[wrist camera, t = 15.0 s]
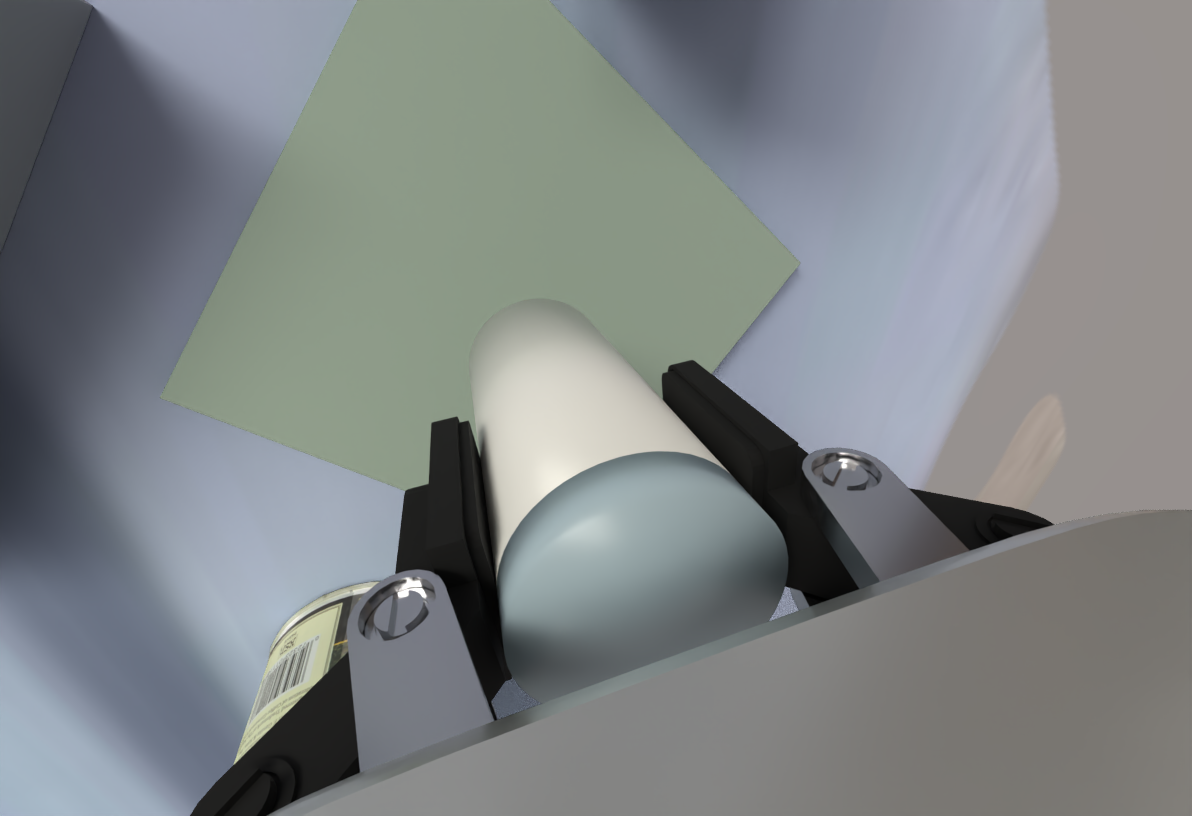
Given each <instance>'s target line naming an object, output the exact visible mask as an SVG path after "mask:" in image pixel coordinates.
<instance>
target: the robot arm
mask: <svg viewBox="0 0 1192 816" xmlns="http://www.w3.org/2000/svg"><path fill="white" fill-rule="evenodd" d="M662 395H663V401H664V402H665V403H666V404H667V405H668V406H669V408H670V409H671V410H672V411H673V412H674V413H675V414H676V415H677V416H678V417H679V418H680V420H681V421H682V422H683V423H684V424H685V425H686V426H687V427H688V428H689V429H690V430H691V432H692V433H693V434H694V435H695V436H696V437H697V438H698V439H699V440H700V441H701V442H702V444H703V445H704V446H705V447H706V448H707V449H708V450H709V451H710V452H711V453H712V454H713V455H714V457H715V458H716V459H717V460H718V461H719V462H720V463H721V464H722V465H723V466H724V467H725V469H726V470H727V471H728V472H729V473H730V474H731V475H732V476H733V477H734V478H735V479H736V481H737V482H738V483H739V484H740V485H741V486H742V487H743V488H744V489H745V490H746V491H747V493H748V494H749V495H750V496H751V497H752V498H753V499H754V500H755V501H756V502H757V503H758V505H759V506H760V507H761V508H762V509H763V510H764V511H765V512H766V513H767V514H768V515H769V516H770V518H771V519H772V520H773V521H774V522H775V523H776V525H777V526H778V528H779V530H780V531H781V533H782V535H783V538H784V540H785V543H786V547H787V553H788V574H787V579H786V585H785V586H786V587H789V588H790V591H791V595H792V598H793V600H794V602H795V604H796V606H797V608H798V610H799V611H797V612H794V613H791V614H788V615H786V616H783V617H780V618H777V619H774V620H772V621H769V622H766V623H763V624H760V625H758V626H755V627H752V628H749V629H746V630H744V631H741V632H738V633H735V634H732V635H730V636H727V637H724V638H721V639H719V640H716V641H713V642H710V643H707V644H705V645H702V646H699V647H696V648H694V649H691V650H688V651H685V652H682V653H680V654H677V655H674V656H671V657H669V658H666V659H663V660H660V661H657V662H655V663H652V664H649V665H646V666H644V667H641V668H638V669H635V670H633V671H630V672H627V673H624V674H622V675H619V676H616V677H614V678H611V679H608V680H605V681H603V682H600V683H597V684H594V685H592V686H589V687H586V688H583V689H581V690H578V691H575V692H572V693H570V694H567V695H564V696H561V697H559V698H556V699H553V700H551V701H548V702H545V703H542V704H540V705H537V706H534V707H531V708H529V709H526V710H523V711H520V712H518V713H515V714H512V715H509V716H507V717H504V718H501V719H499V720H498V717H497V714H496V711H495V709H494V706H493V703H492V699H493V698H494V697H495V695H496V694H497V692H498V691H499V689H500V688H501V686H502V685H503V684H504V682H505V681H507V680H510V679H512V675H511V673H510V671H509V668H508V666H507V663H506V658H505V654H504V647H503V639H502V631H501V623H500V615H499V607H498V599H497V587H496V579H495V571H494V563H493V555H492V547H491V539H490V531H489V523H488V515H487V508H486V500H485V492H484V484H483V476H482V468H481V460H480V456H479V452H478V449H477V446H476V442H475V439H474V435H473V432H472V429H471V425H470V423H469V420H468V421H464V422H460V421H459V419H458V417H452V418H448V419H444V420H440V421H436V422H432V423H431V440H430V462H429V484H426V485H422V486H418V487H414V488H410V489H407V490H406V491H405V495H404V503H403V512H402V520H401V529H400V538H399V546H398V555H397V564H396V572H395V575H392V576H390V577H388V578H386V579H384V580H382V581H381V582H379V583H377V584H376V585H375V586H373V587H372V588H371V589H370V590H369V591H367V592H366V593H365V594H364V595H363V596H362V597H361V599H360V600H359V601H358V602H357V603H356V605H355V606H354V608H353V610H352V612H351V614H350V616H349V618H348V623H347V641H348V652H347V653H346V654H345V655H344V656H343V657H342V658H341V659H340V660H339V661H338V662H337V663H336V664H335V665H334V666H333V667H332V668H331V669H330V670H329V671H328V672H327V673H326V674H325V675H324V676H323V677H322V678H321V679H320V680H319V681H318V682H317V683H316V684H315V685H314V686H313V687H312V688H311V689H310V690H309V691H308V692H307V693H306V694H305V695H304V696H303V697H302V698H301V699H300V700H299V701H298V702H297V703H296V704H295V705H294V706H293V707H292V708H291V709H290V710H289V711H288V712H287V713H286V714H285V715H284V716H283V717H282V718H281V719H280V720H279V721H278V722H277V723H276V724H275V725H274V726H273V727H272V728H271V729H270V730H269V731H268V732H267V733H266V734H265V735H263V736H262V737H261V738H260V739H259V740H258V741H257V742H256V743H255V744H254V745H253V746H252V747H251V748H250V749H249V750H248V751H247V752H246V753H245V754H244V755H243V756H242V757H241V758H240V759H239V760H238V761H237V762H236V763H235V764H234V765H233V766H232V767H231V768H230V769H229V770H228V771H227V772H226V773H225V774H224V775H223V776H222V777H221V778H220V779H219V780H218V781H217V782H216V783H215V784H214V785H213V787H212V788H211V789H210V790H209V791H208V792H207V793H206V795H205V796H204V797H203V798H202V799H201V800H200V801H199V803H198V804H197V806H196V807H195V809H194V810H193V812H192V814H191V815H190V816H1192V510H1140V511H1131V512H1121V513H1111V514H1104V515H1098V516H1093V517H1088V518H1082V519H1078V520H1072V521H1067V522H1063V523H1059V524H1056V525H1054V524H1052V523H1051V522H1049V521H1047V520H1046V519H1044V518H1041V517H1039V516H1037V515H1034V514H1032V513H1029V512H1026V511H1023V510H1019V509H1015V508H1011V507H1006V506H1000V505H995V504H990V503H984V502H979V501H974V500H968V499H963V498H958V497H953V496H947V495H942V494H936V493H931V492H926V491H921V490H915V489H910V488H908V487H907V486H906V485H905V484H904V483H903V482H902V481H901V480H900V479H899V478H898V477H897V476H896V475H895V474H894V473H893V472H892V471H891V470H890V469H889V468H888V467H887V466H886V465H885V464H884V463H882V462H881V461H880V460H878V459H877V458H875V457H873V456H871V455H869V454H867V453H864V452H860V451H857V450H853V449H846V448H825V449H821V450H817V451H815V452H813V453H811V454H808V453H807V452H805V451H804V450H803V449H802V448H800V447H799V446H798V442H796V441H795V440H794V439H792V438H791V437H790V436H789V435H787V434H786V433H785V432H784V431H782V430H781V429H780V428H779V427H777V426H776V425H775V424H774V423H772V422H771V421H770V420H769V419H767V418H766V417H765V416H764V415H762V414H761V413H760V412H759V411H757V410H756V409H755V408H753V407H752V406H751V405H750V404H748V403H747V402H746V401H745V400H743V399H742V398H741V397H740V396H738V395H737V394H736V393H735V392H733V391H732V390H731V389H730V388H728V387H727V386H726V385H725V384H723V383H722V382H721V381H720V380H718V379H717V378H716V377H714V376H713V375H712V374H711V373H709V372H708V371H707V370H706V369H704V368H703V367H702V366H701V365H699V364H698V363H697V362H696V361H694V360H689V361H685V362H681V363H677V364H673V365H670V366H669V367H668V372H665V373H663V374H662Z"/></svg>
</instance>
